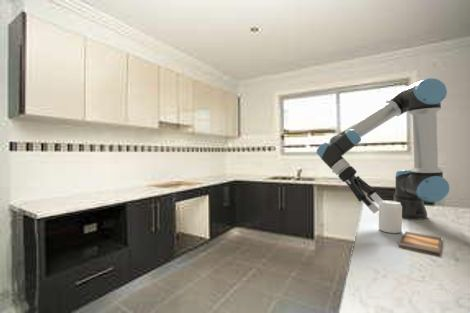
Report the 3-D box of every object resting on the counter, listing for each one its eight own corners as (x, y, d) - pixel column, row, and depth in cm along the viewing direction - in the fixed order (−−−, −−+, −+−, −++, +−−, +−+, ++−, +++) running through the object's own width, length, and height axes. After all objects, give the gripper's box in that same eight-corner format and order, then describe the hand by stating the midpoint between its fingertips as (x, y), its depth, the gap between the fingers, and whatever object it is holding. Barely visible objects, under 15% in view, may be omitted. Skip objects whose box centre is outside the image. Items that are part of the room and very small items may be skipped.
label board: (405, 233, 100) (405, 231, 100) (441, 240, 93) (441, 237, 93) (399, 247, 86) (399, 244, 86) (440, 256, 79) (440, 252, 79)
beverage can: (405, 234, 99) (405, 204, 99) (382, 233, 101) (383, 203, 100) (396, 228, 107) (397, 200, 106) (375, 227, 108) (376, 199, 108)
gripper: (346, 174, 126) (379, 208, 116) (328, 178, 107) (365, 220, 97) (358, 163, 122) (393, 198, 113) (341, 166, 103) (381, 208, 94)
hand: (380, 208), depth 105 cm, fingers open, 13 cm apart
